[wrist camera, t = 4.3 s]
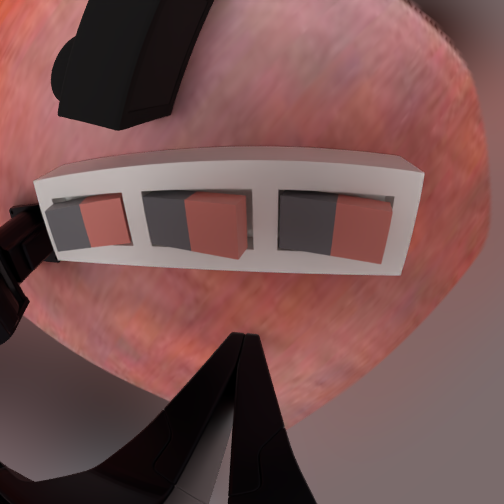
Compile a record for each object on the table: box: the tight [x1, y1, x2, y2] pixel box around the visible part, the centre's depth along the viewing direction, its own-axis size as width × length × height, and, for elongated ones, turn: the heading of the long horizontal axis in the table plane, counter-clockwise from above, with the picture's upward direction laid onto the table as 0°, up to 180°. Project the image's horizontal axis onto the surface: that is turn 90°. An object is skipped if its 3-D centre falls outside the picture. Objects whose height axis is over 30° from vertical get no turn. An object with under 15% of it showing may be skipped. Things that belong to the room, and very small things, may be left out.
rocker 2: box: [143, 190, 248, 260], centre depth 16 cm, size 6×3×1 cm, turn 91°
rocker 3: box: [279, 190, 393, 264], centre depth 15 cm, size 6×3×1 cm, turn 91°
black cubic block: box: [51, 0, 214, 131], centre depth 11 cm, size 10×5×7 cm, turn 159°
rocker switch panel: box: [33, 146, 425, 275], centre depth 18 cm, size 29×7×4 cm, turn 91°
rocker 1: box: [45, 193, 132, 252], centre depth 17 cm, size 6×3×1 cm, turn 91°
